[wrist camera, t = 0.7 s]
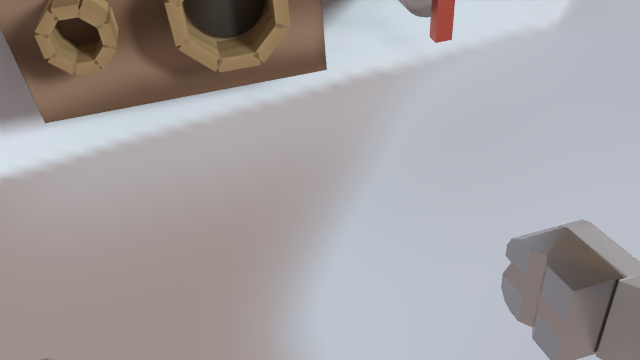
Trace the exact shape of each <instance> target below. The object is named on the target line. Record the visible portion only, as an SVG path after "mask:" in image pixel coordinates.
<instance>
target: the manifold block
mask: <svg viewBox="0 0 640 360" xmlns="http://www.w3.org/2000/svg"><path fill="white" fill-rule="evenodd" d="M0 28H1V30H2V32H3V34H4V36H5V38H6V41H7V43H8V45H9V47H10V49H11V51H12V53H13V55H14V58H15V60H16V62H17V64H18V66H19V68H20V70H21V73H22V75H23V77H24V79H25V81H26V83H27V85H28V87H29V90H30V92H31V94H32V96H33V98H34V100H35V102H36V105H37V107H38V109H39V111H40V113H41V115H42V117H43V119H44V122H45V123H48V122H54V121H59V120H64V119H69V118H75V117H80V116H85V115H90V114H96V113H101V112H106V111H112V110H117V109H122V108H127V107H133V106H138V105H143V104H148V103H154V102H159V101H164V100H170V99H175V98H180V97H185V96H191V95H196V94H201V93H206V92H212V91H217V90H222V89H228V88H233V87H238V86H243V85H249V84H254V83H259V82H264V81H270V80H275V79H280V78H286V77H291V76H296V75H301V74H307V73H312V72H317V71H322V70H327V68H326V55H325V42H324V29H323V16H322V2H321V0H0Z"/></svg>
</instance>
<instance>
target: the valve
mask: <svg viewBox="0 0 640 360" xmlns="http://www.w3.org/2000/svg"><path fill="white" fill-rule="evenodd" d="M399 1H400V2H401V3H402V4H403V5H404V6H405V7H406V8H407V9H408V10H409V11H410V12H411V13H412V14H414V15H416V16H420V17H431V24H430V38H431V39H432V40H433V41H434V42H435V43H437V42H442V41H447V40H452V30H453V18H454V5H455V0H399Z"/></svg>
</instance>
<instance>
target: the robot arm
mask: <svg viewBox="0 0 640 360" xmlns="http://www.w3.org/2000/svg"><path fill="white" fill-rule="evenodd" d="M506 257H507V258H508V259H509V260H510V261H511V264H510V265H509V266H508V268H507V269H506V270H505V271H504V273H503V277H502V291H503V295H504V299H505V302H506V304H507V306H508V308H509V310H510V311H511V313H512V314H513V315H514V316H515V318H516V319H517V320H518V321H520V322H522V323H524V324H526V325H528V326H531V327H532V331H533V332H532V338H533V340H534V341H535V342H536V343H537V344H538V346H539V347H540V348H541V349H542V350H543V352H544V353H545V354H546V355H547V356H548V358H550V360H576V359H579V358H583V357H586V356H589V355H593V354H596V356H597V357H598V358H600V359H602V360H640V262H639V261H638V260H637V259H635V258H634V257H633V256H632V255H631V254H629V253H628V252H627V251H626V250H624V249H623V248H622V247H621V246H619V245H618V244H617V243H616V242H614V241H613V240H612V239H611V238H609V237H608V236H607V235H606V234H604V233H603V232H602V231H601V230H599V229H598V228H597V227H596V226H594V225H593V224H592V223H590V222H588V221H585V220H579V221H575V222H571V223H568V224H564V225H560V226H558V227H553V228H550V229H546V230H542V231H538V232H535V233H531V234H527V235H523V236H520V237H516V238H512V239H511V241H510V242H509V243H508V245H507V250H506ZM42 360H53V359H50V358H46V359H42Z"/></svg>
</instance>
